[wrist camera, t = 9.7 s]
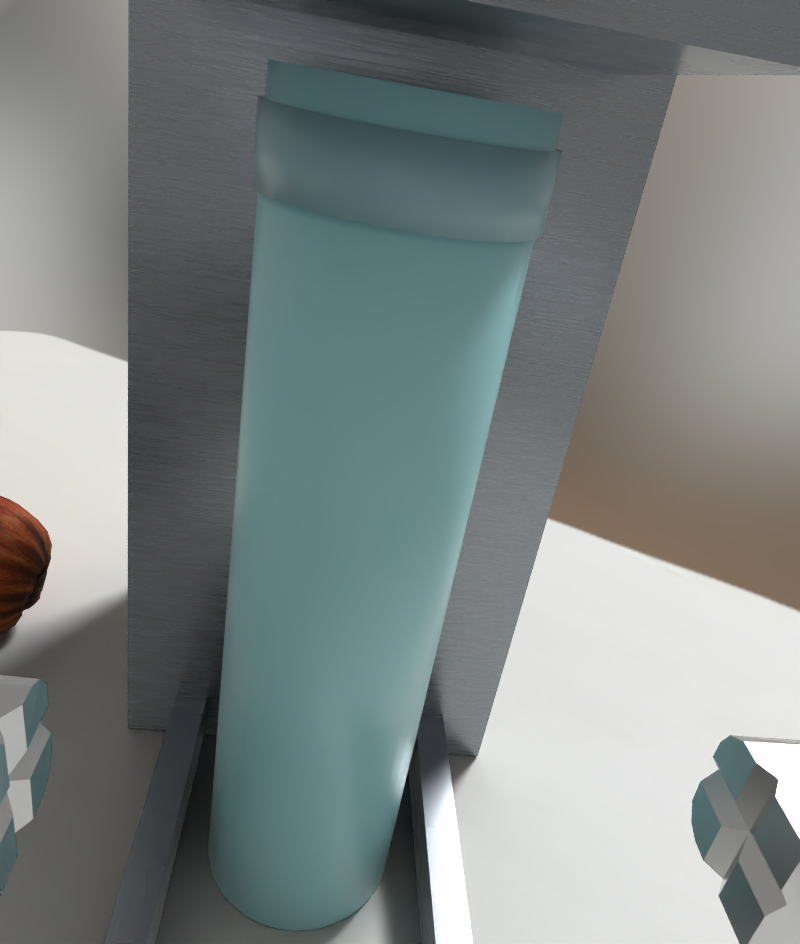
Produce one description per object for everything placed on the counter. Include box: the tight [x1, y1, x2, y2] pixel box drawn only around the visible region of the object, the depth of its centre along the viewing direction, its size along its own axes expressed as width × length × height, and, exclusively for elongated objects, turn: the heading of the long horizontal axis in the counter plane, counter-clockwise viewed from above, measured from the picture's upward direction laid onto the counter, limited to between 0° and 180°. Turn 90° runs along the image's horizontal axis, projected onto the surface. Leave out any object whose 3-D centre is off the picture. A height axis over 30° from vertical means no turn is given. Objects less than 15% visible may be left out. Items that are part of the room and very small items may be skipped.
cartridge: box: [209, 59, 564, 931], centre depth 15 cm, size 5×5×17 cm
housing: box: [104, 0, 800, 944], centre depth 17 cm, size 10×15×22 cm, turn 3°
